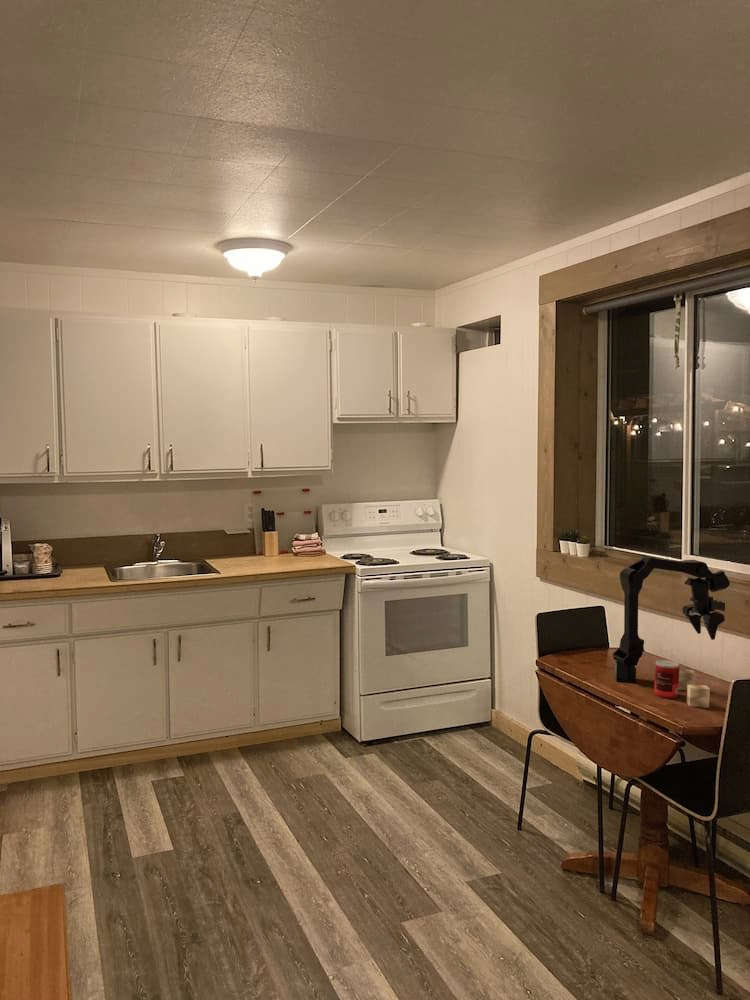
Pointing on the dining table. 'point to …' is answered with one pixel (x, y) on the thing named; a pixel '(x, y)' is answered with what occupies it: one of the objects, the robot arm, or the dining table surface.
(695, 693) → the beech block
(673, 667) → the canned food
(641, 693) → the dining table surface
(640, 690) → the dining table surface
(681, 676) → the grey-green block
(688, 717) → the dining table surface
